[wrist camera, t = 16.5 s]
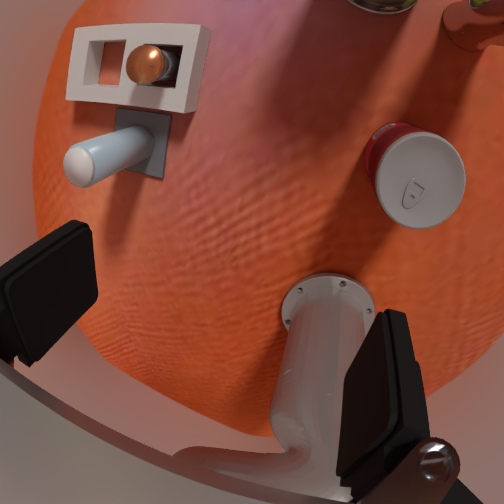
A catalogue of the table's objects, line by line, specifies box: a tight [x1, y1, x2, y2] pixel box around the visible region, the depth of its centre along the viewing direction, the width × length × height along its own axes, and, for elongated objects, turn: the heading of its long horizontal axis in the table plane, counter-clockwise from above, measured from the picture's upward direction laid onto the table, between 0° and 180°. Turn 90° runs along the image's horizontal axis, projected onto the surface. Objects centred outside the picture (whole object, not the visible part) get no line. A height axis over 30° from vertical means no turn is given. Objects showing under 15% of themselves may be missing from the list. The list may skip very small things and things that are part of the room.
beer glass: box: [443, 0, 504, 52], centre depth 15 cm, size 7×7×15 cm
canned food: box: [364, 122, 466, 229], centre depth 26 cm, size 8×8×11 cm
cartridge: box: [63, 125, 154, 188], centre depth 32 cm, size 5×5×12 cm
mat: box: [114, 108, 172, 178], centre depth 37 cm, size 8×8×1 cm
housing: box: [66, 23, 212, 113], centre depth 31 cm, size 10×18×3 cm, turn 76°
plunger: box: [126, 45, 181, 84], centre depth 29 cm, size 4×4×6 cm
